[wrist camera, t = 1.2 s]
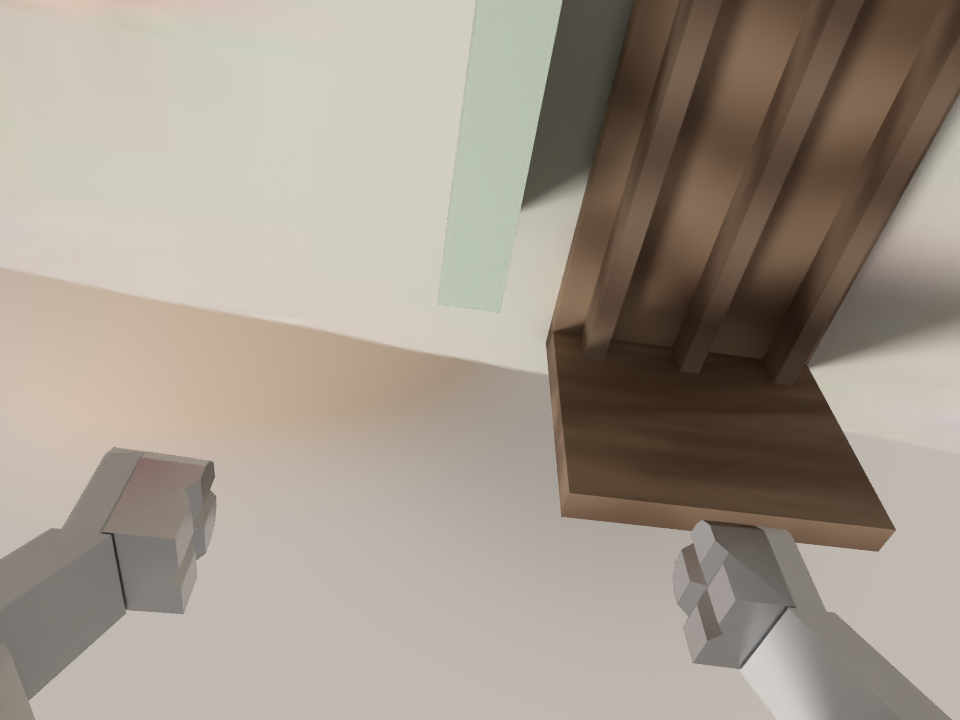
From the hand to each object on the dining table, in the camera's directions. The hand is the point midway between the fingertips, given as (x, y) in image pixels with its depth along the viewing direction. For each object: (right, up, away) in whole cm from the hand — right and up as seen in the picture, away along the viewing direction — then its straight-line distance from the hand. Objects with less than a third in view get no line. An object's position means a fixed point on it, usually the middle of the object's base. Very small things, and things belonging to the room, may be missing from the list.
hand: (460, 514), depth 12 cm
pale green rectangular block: (+1, +14, +19) cm, 24 cm away
